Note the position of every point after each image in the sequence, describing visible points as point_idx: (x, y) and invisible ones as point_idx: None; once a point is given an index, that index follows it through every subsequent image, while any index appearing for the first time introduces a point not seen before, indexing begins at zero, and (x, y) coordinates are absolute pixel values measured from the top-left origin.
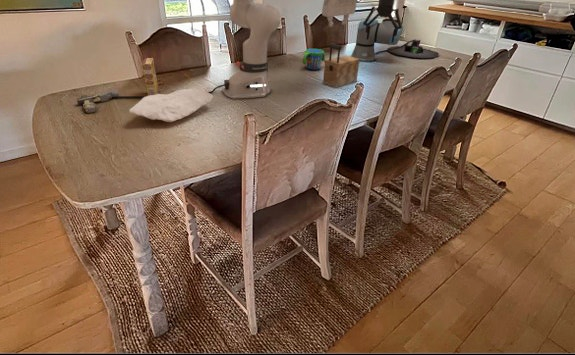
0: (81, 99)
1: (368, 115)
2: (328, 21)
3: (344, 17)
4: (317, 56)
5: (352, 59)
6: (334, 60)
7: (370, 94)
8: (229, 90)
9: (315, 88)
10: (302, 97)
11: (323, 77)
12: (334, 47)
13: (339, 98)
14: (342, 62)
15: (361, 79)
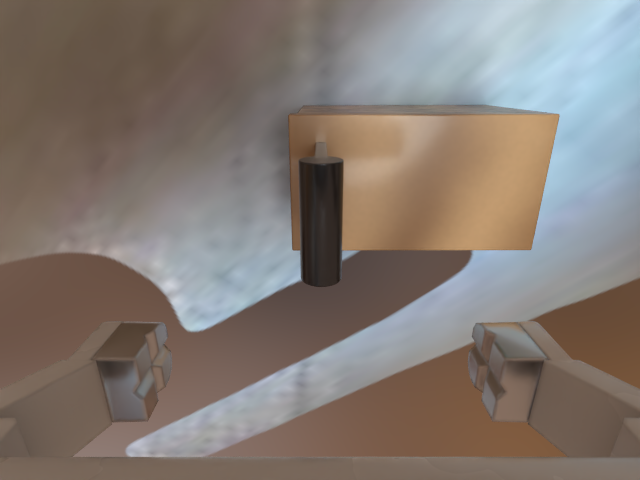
0: None
1: (183, 447)
2: (45, 368)
3: (610, 405)
4: None
5: (481, 227)
6: (348, 169)
7: (359, 347)
8: None
9: (200, 150)
10: (62, 204)
11: (302, 107)
12: (300, 227)
13: (208, 305)
14: (354, 238)
15: None
